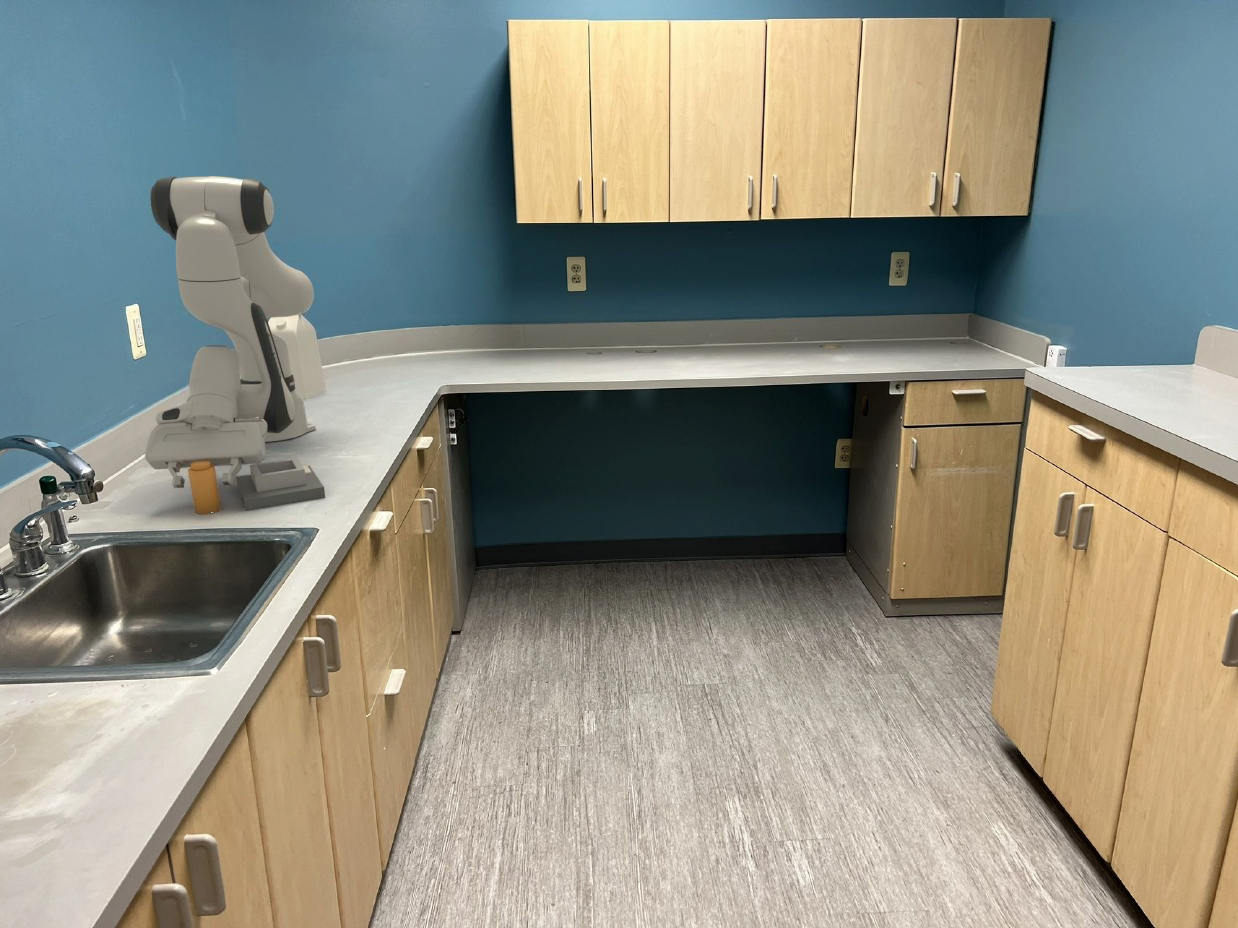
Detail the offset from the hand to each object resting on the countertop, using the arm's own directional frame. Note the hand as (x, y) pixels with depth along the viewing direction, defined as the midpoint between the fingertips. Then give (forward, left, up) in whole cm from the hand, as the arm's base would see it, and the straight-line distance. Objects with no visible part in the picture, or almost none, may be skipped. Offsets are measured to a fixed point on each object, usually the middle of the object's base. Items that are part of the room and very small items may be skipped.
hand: (202, 485), depth 156 cm
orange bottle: (-1, 0, -5) cm, 5 cm away
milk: (-96, +30, -5) cm, 100 cm away
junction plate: (-5, +13, -5) cm, 15 cm away
